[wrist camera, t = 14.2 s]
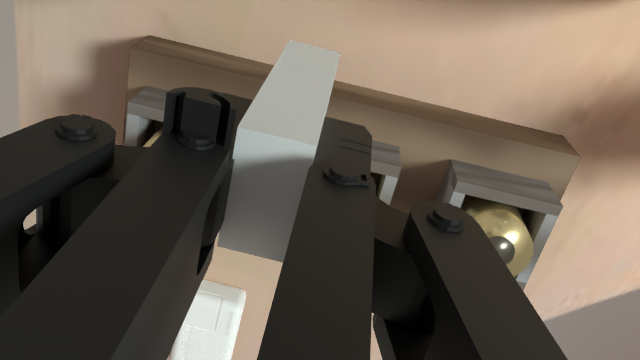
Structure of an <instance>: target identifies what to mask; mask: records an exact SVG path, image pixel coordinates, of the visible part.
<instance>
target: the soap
mask: <svg viewBox="0 0 640 360" xmlns="http://www.w3.org/2000/svg"><path fill="white" fill-rule="evenodd" d="M245 300H246V292H245V291H244V290H243V289H240V288H236V287H232V286H228V285H224V284H220V283H216V282H212V281H208V280H204V279H203V280H202V282H201V284H200V287H199V289H198V291H197V293H196V295H195V298H194V300H193V302H192V304H191V306H190V309H189V311H188V313H187V315H186V318H185V320H184V322H183V324H182V326H181V329H180V331H179V333H178V335H177V337H176V340H175V342H174V344H173V346H172V352H171V357H170V360H231V357H232V353H233V349H234V345H235V341H236V337H237V333H238V329H239V325H240V320H241V316H242V312H243V308H244V304H245Z"/></svg>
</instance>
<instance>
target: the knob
mask: <svg viewBox="0 0 640 360" xmlns="http://www.w3.org/2000/svg"><path fill="white" fill-rule="evenodd" d="M460 208H461V209H462V210H463V211H464V212H466V213H467V214H469V215H470V216H472V217H473V218H474V219H475V220H476V221H477V222H478V223H479V224H480V226H481V228H482V229H483V231H484V232H485V234H486V235H487V237H488V238H489V240H490V241H491V243H492V244H493V246H494V247H495V249H496V251H497V252H498V254H499V255H500V257H501V258H502V260H503V261H504V263H505V264H506V266H507V267H508V269H509V270H510V272H511V274H512V275H513V277H514V276H516V275H517V274H519V273H520V272H522V271H523V270H524V269H525V268H526V267H527V265H528V264H529V262H530V260H531V258H532V255H533V242H532V239H531V236H530V234H529V232H528V230H527V228H526V226H525V224H524V222H523V220H522V218H521V216H520V213H519V211H518V209H517V207H516V206H512V205H508V204H504V203H500V202H495V201H491V200H487V199H483V198H479V197H475V196H470V195H466V194H465V197H464V199H463V202H462V204H461V207H460Z"/></svg>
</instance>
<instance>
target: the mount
mask: <svg viewBox="0 0 640 360" xmlns="http://www.w3.org/2000/svg"><path fill="white" fill-rule="evenodd" d="M273 67H274V66H273V65H269V64H265V63H261V62H257V61H253V60H249V59H245V58H241V57H236V56H232V55H228V54H224V53H220V52H216V51H212V50H208V49H204V48H199V47H195V46H191V45H187V44H183V43H179V42H175V41H171V40H167V39H163V38H158V37H154V36H149V37H147V38H145V39H144V40H142V41H140V42H139V43H137V44H136V45H134V46H132V47H131V48H130V58H129V71H128V83H127V96H126V108H125V120H124V133H123V146H134V147H143V146H144V145H145V144H146V142H147V141H148V140H149V139H150V138H151V137H152V136H153V135H154V134H155V133H156V132H157V130H158V129H159V128H160V127H161V126H162V125H163V120H164V111H165V101H166V92H168V91H170V90H172V89H175V88H182V87H198V88H204V89H210V90H213V91H216V92H219V93H227V94H231V95H235V96H239V97H243V98H247V99H251V100H254V98H255V97H256V95H257V93H258V92H259V90H260V88H261V87H262V85H263V83H264V82H265V80H266V78H267V77H268V75H269V73H270V72H271V70H272V68H273ZM325 116H326V117H330V118H334V119H338V120H342V121H346V122H350V123H354V124H358V125H362V126H365V127H366V129H367V130H368V131H369V133H370V134H371V135H372V147H371V148H372V153H371V173H370V176H371V177H372V178H373V179H374V181H375V184H376V196H377V197H378V198H379V199H380V200H382V201H383V202H385V203H386V204H388V205H390V206H392V207H394V208H396V209H398V210H400V211H402V212H404V213H407V214H409V213H410V210H411V208H412V207H413V206H414V204H415V203H419V202H422V201H437V202H441V203H449V204H452V205H453V206H457V207H459V208H460V207H461V204H462V202H463V199H464V197H465V194H466V195H470V196H475V197H479V198H483V199H487V200H491V201H495V202H500V203H504V204H508V205H512V206H516V207H517V209H518V211H519V213H520V216H521V218H522V220H523V222H524V224H525V226H526V228H527V230H528V232H529V234H530V236H531V239H532V242H533V255H532V258H531V260H530V262H529V264H528V265H527V267H526V268H525V269H524V270H523V271H522V272H520V273H519V274H517V275H516V276H514V278H515V280H516V281H517V283H518V284H519V286H520V287H521V289H522V290H524V288H525V286H526V283H527V281H528V279H529V277H530V275H531V273H532V271H533V269H534V267H535V264H536V262H537V260H538V258H539V256H540V254H541V252H542V250H543V248H544V245H545V243H546V241H547V239H548V237H549V235H550V233H551V231H552V229H553V227H554V224H555V222H556V220H557V218H558V216H559V214H560V212H561V210H562V208H563V205H562V204H561V202H560V200H561V198H562V196H563V194H564V192H565V190H566V188H567V186H568V183H569V181H570V179H571V177H572V175H573V173H574V171H575V169H576V166H577V164H578V162H579V160H580V158H581V157H580V156H579V154H578V153H577V152H576V151H575V149H574V148H573V147H572V146H571V145H570V143H569V142H568V141H567V140H566V139H565V137H564V136H561V135H556V134H552V133H548V132H544V131H540V130H536V129H532V128H528V127H524V126H520V125H515V124H511V123H507V122H503V121H499V120H495V119H491V118H487V117H483V116H478V115H474V114H470V113H466V112H462V111H458V110H454V109H450V108H446V107H442V106H437V105H433V104H429V103H425V102H421V101H417V100H413V99H409V98H405V97H401V96H396V95H392V94H388V93H384V92H380V91H376V90H372V89H368V88H364V87H360V86H355V85H351V84H347V83H343V82H339V81H335V80H334V83H333V87H332V91H331V95H330V99H329V103H328V107H327V111H326V115H325Z"/></svg>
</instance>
